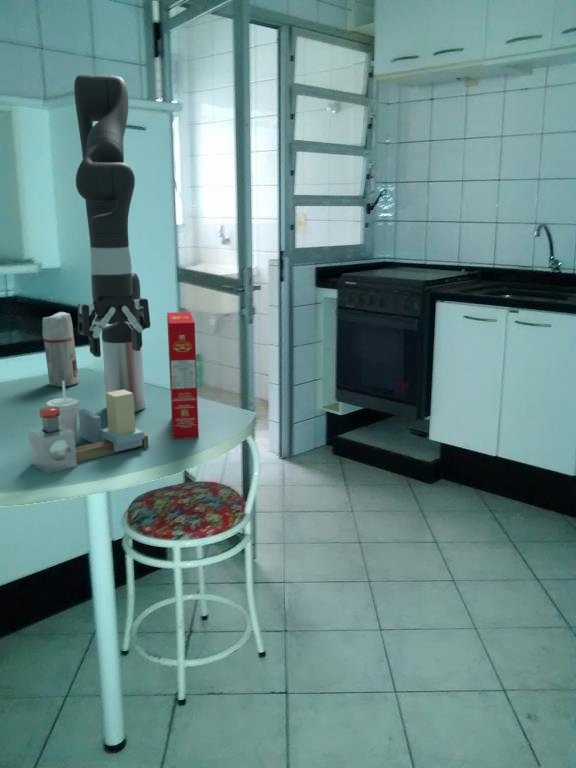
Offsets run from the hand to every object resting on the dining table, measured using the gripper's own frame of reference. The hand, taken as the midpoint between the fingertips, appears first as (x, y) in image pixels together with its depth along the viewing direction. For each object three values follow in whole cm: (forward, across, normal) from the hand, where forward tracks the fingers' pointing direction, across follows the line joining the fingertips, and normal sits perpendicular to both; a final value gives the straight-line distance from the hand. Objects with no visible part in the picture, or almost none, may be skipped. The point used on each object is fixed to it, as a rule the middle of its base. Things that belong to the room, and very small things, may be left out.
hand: (116, 353), depth 137 cm
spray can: (+20, -12, -58) cm, 63 cm away
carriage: (+20, 0, -4) cm, 20 cm away
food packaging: (+20, -17, -3) cm, 27 cm away
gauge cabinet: (+20, +14, 0) cm, 25 cm away
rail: (+20, +4, 0) cm, 20 cm away
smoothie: (+20, +8, -8) cm, 23 cm away
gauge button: (+16, +14, 0) cm, 22 cm away
